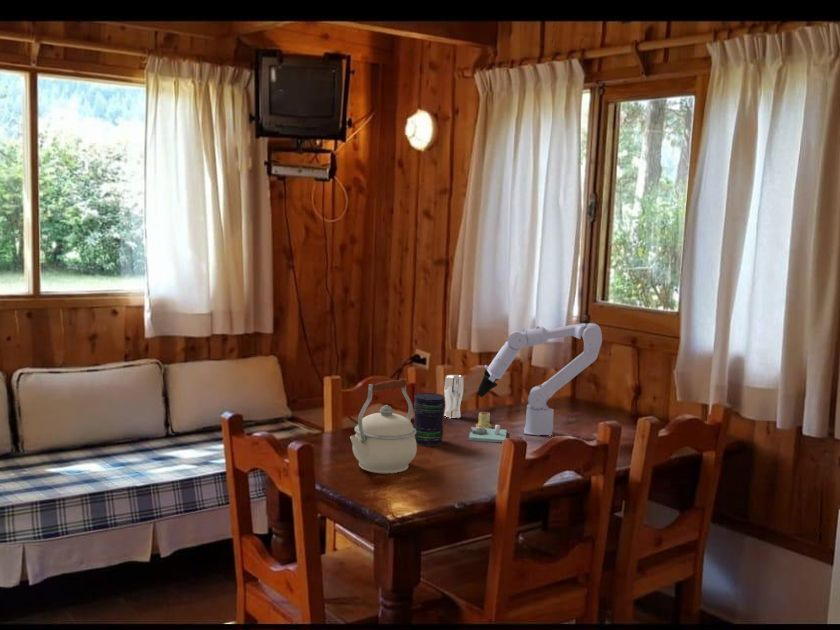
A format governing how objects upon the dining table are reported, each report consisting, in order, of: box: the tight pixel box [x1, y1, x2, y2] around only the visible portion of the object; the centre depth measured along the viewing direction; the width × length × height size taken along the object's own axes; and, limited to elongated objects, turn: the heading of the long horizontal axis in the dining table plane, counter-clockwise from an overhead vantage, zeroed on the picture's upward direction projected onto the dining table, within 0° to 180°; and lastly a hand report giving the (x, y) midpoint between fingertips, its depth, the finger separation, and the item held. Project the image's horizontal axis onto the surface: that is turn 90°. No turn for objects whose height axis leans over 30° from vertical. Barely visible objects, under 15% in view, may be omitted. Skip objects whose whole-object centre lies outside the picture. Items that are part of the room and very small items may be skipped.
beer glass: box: [443, 374, 465, 419], centre depth 301 cm, size 7×7×15 cm
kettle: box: [349, 377, 418, 475], centre depth 234 cm, size 25×18×25 cm
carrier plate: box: [468, 424, 507, 443], centre depth 276 cm, size 12×14×4 cm
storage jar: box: [412, 392, 446, 447], centre depth 265 cm, size 10×10×15 cm
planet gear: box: [475, 411, 492, 429], centre depth 288 cm, size 5×5×5 cm
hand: (480, 393), depth 287 cm, fingers open, 7 cm apart
